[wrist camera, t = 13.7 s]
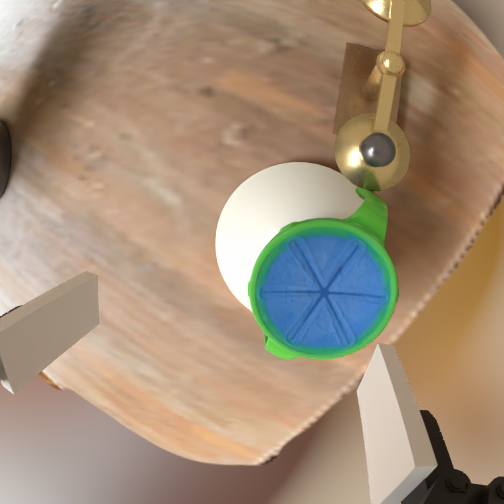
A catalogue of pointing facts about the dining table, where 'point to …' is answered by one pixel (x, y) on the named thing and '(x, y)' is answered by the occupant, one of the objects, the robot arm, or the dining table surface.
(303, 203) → the dish
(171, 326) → the dining table surface
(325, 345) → the snack cup
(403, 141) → the balance
